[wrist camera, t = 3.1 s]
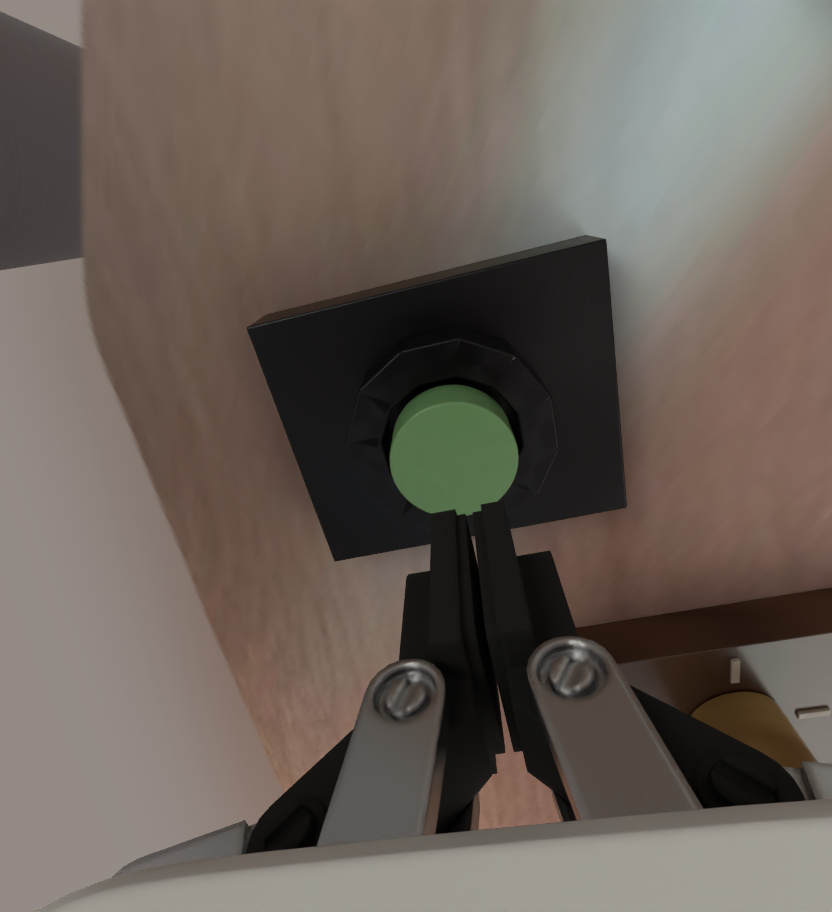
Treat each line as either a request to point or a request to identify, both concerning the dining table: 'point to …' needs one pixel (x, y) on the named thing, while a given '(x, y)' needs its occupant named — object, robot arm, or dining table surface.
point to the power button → (453, 450)
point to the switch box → (447, 363)
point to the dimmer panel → (735, 657)
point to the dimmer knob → (756, 726)
